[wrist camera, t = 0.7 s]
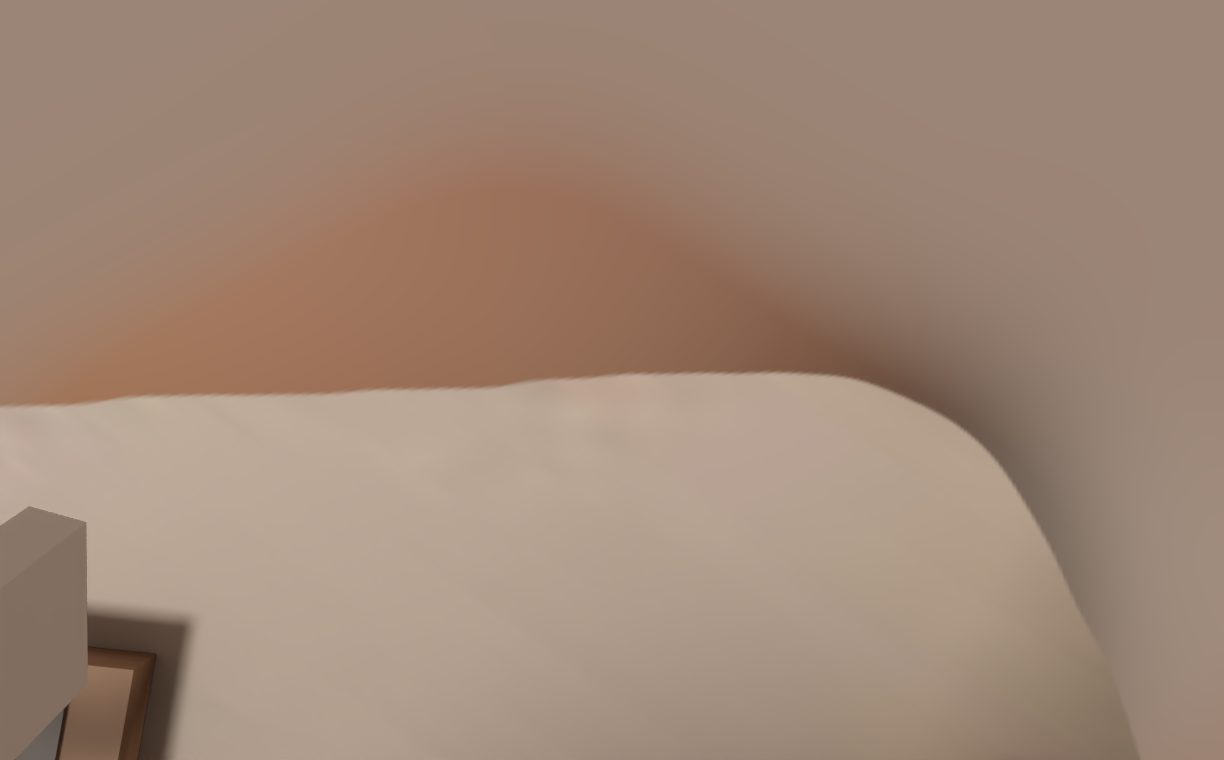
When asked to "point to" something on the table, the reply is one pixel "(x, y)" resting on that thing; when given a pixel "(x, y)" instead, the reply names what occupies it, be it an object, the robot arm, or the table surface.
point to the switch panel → (101, 712)
